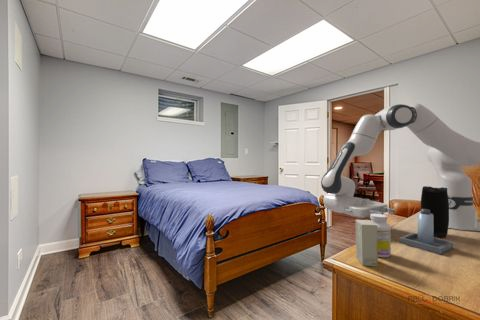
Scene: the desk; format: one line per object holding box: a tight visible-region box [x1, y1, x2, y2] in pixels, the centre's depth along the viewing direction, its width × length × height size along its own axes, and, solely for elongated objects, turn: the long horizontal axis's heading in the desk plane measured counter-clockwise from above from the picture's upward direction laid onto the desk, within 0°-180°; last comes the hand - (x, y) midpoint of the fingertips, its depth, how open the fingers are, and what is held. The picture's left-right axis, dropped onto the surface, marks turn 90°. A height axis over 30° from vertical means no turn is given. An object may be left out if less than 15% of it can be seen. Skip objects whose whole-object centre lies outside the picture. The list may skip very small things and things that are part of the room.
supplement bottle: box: [369, 213, 392, 258], centre depth 74 cm, size 7×7×13 cm
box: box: [398, 232, 454, 256], centre depth 81 cm, size 11×12×2 cm
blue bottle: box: [417, 208, 435, 246], centre depth 81 cm, size 4×4×12 cm
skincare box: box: [355, 219, 379, 267], centre depth 68 cm, size 6×4×12 cm
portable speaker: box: [420, 186, 449, 239], centre depth 92 cm, size 9×9×20 cm
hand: (388, 213), depth 91 cm, fingers open, 8 cm apart
